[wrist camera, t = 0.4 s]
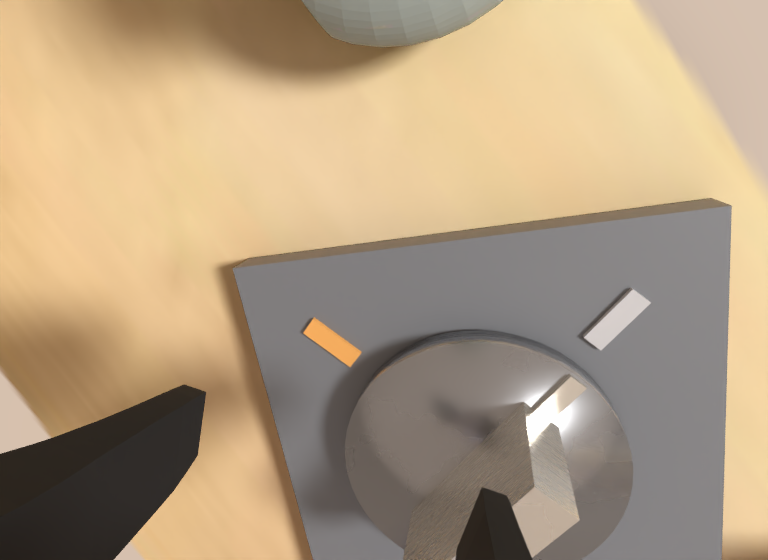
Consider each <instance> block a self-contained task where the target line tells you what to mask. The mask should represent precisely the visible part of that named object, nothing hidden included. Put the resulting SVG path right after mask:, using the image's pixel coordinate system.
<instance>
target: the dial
mask: <svg viewBox="0 0 768 560" xmlns="http://www.w3.org/2000/svg"><path fill="white" fill-rule="evenodd" d="M345 462H346V468H347V474H348V477H349V480H350V483H351V487H352V489H353V491H354V493H355V495H356V498H357V500H358V502H359V503H360V505H361V506H362V508H363V510H364V511H365V513H366V514H367V515H368V517H369V518H370V519H371V520H372V522H373V523H374V524H375V525H376V526H377V527H378V528H379V529H380V530H381V531H382V532H383V533H384V534H385V535H386V536H387V537H388V538H389V539H390V540H392V541H393V542H394V543H395V544H397V545H398V546H399V547H400V548H402V549H403V550H405V551H404V556H403V560H455V558H456V551H457V547H458V544H459V542H460V539H461V537H462V535H463V532H464V530H465V527H466V525H467V522H468V520H469V517H470V515H471V512H472V510H473V507H474V505H475V503H476V500H477V498H478V495H479V493H480V490H481V488H482V487H484V488H486V489H489V490H492V491H495V492H498V493H501V494H504V495H507V497H508V499H509V501H510V503H511V506H512V508H513V511H514V514H515V516H516V519H517V522H518V524H519V527H520V529H521V532H522V534H523V537H524V539H525V542H526V544H527V547H528V549H529V552H530V554H531V556H532V559H533V560H581V559H582V558H584V557H585V556H587V555H589V554H590V553H592V552H593V551H594V550H595V549H596V548H598V547H599V546H600V545H601V544H602V543H603V542H604V541H605V540H606V539H607V538H608V537H609V536H610V534H611V533H612V532H613V531H614V530H615V528H616V527H617V525H618V523H619V522H620V520H621V519H622V517H623V515H624V513H625V510H626V508H627V505H628V503H629V500H630V495H631V491H632V486H633V463H632V454H631V450H630V447H629V443H628V440H627V437H626V434H625V432H624V430H623V427H622V425H621V423H620V420H619V418H618V416H617V414H616V412H615V410H614V408H613V405H612V403H611V401H610V400H609V398H608V397H607V396H606V394H605V393H604V391H603V390H602V388H601V387H600V386H599V385H598V383H597V382H596V381H595V380H594V379H593V378H592V377H591V376H590V375H589V374H588V373H587V372H586V371H585V370H584V369H582V368H581V367H580V366H579V365H578V364H577V363H575V362H574V361H573V360H571V359H570V358H568V357H566V356H565V355H563V354H562V353H560V352H559V351H557V350H555V349H553V348H551V347H549V346H546V345H544V344H542V343H540V342H537V341H534V340H531V339H528V338H526V337H523V336H519V335H514V334H509V333H505V332H497V331H487V330H467V331H457V332H450V333H444V334H440V335H437V336H433V337H429V338H426V339H424V340H422V341H419V342H417V343H414V344H412V345H410V346H408V347H407V348H405V349H403V350H401V351H400V352H398V353H397V354H395V355H394V356H393V357H391V358H390V359H389V360H388V361H386V362H385V363H384V364H383V365H382V366H381V367H380V368H379V369H378V370H377V371H376V372H375V373H374V374H373V376H372V377H371V379H370V380H369V382H368V383H367V384H366V386H365V388H364V390H363V392H362V394H361V396H360V398H359V400H358V402H357V404H356V407H355V409H354V411H353V413H352V415H351V418H350V422H349V425H348V428H347V433H346V440H345Z"/></svg>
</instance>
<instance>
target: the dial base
mask: <svg viewBox="0 0 768 560" xmlns="http://www.w3.org/2000/svg"><path fill="white" fill-rule="evenodd" d="M731 207H732V206H731V205H728V204H726V203H723V202H720V201H718V200H715V199H712V198H710V199H702V200H694V201H686V202H679V203H671V204H663V205H656V206H648V207H640V208H633V209H625V210H617V211H609V212H602V213H594V214H586V215H579V216H571V217H563V218H555V219H548V220H540V221H532V222H525V223H517V224H509V225H502V226H494V227H486V228H478V229H471V230H463V231H455V232H448V233H440V234H432V235H425V236H417V237H409V238H401V239H394V240H386V241H378V242H371V243H363V244H355V245H348V246H340V247H332V248H324V249H317V250H309V251H301V252H294V253H286V254H278V255H271V256H263V257H255V258H249V259H247V260H245V261H244V262H242V263H241V264H239V265H237V266H236V267H234V268H233V272H234V275H235V279H236V283H237V286H238V290H239V293H240V297H241V301H242V304H243V308H244V312H245V315H246V319H247V322H248V326H249V330H250V333H251V337H252V341H253V344H254V348H255V351H256V355H257V359H258V362H259V366H260V369H261V373H262V377H263V380H264V384H265V388H266V391H267V395H268V398H269V402H270V406H271V409H272V413H273V417H274V420H275V424H276V427H277V431H278V435H279V438H280V442H281V445H282V449H283V453H284V456H285V460H286V464H287V467H288V471H289V474H290V478H291V482H292V485H293V489H294V493H295V496H296V500H297V503H298V507H299V511H300V514H301V518H302V521H303V525H304V529H305V532H306V536H307V540H308V543H309V547H310V550H311V554H312V558H313V560H403V556H404V551H405V550H403V549H402V548H400V547H399V546H398V545H397V544H395V543H394V542H393V541H392V540H390V539H389V538H388V537H387V536H386V535H385V534H384V533H383V532H382V531H381V530H380V529H379V528H378V527H377V526H376V525H375V524H374V523H373V522H372V520H371V519H370V518H369V517H368V515H367V514H366V513H365V511H364V510H363V508H362V506H361V505H360V503H359V502H358V500H357V498H356V495H355V493H354V491H353V489H352V487H351V483H350V480H349V477H348V474H347V468H346V462H345V440H346V433H347V428H348V425H349V422H350V418H351V415H352V413H353V411H354V409H355V407H356V404H357V402H358V400H359V398H360V396H361V394H362V392H363V390H364V388H365V386H366V384H367V383H368V382H369V380H370V379H371V377H372V376H373V374H374V373H375V372H376V371H377V370H378V369H379V368H380V367H381V366H382V365H383V364H384V363H385V362H386V361H388V360H389V359H390V358H391V357H393V356H394V355H395V354H397V353H398V352H400V351H401V350H403V349H405V348H407V347H408V346H410V345H412V344H414V343H417V342H419V341H422V340H424V339H426V338H429V337H433V336H437V335H440V334H444V333H450V332H457V331H467V330H487V331H497V332H505V333H509V334H514V335H519V336H523V337H526V338H528V339H531V340H534V341H537V342H540V343H542V344H544V345H546V346H549V347H551V348H553V349H555V350H557V351H559V352H560V353H562V354H563V355H565V356H566V357H568V358H570V359H571V360H573V361H574V362H575V363H577V364H578V365H579V366H580V367H581V368H582V369H584V370H585V371H586V372H587V373H588V374H589V375H590V376H591V377H592V378H593V379H594V380H595V381H596V382H597V383H598V385H599V386H600V387H601V388H602V390H603V391H604V393H605V394H606V396H607V397H608V398H609V400H610V401H611V403H612V405H613V408H614V410H615V412H616V414H617V416H618V418H619V420H620V423H621V425H622V427H623V430H624V432H625V434H626V437H627V440H628V443H629V447H630V450H631V454H632V463H633V486H632V491H631V495H630V500H629V503H628V505H627V508H626V510H625V513H624V515H623V517H622V519H621V520H620V522H619V523H618V525H617V527H616V528H615V530H614V531H613V532H612V533H611V534H610V536H609V537H608V538H607V539H606V540H605V541H604V542H603V543H602V544H601V545H600V546H599V547H598V548H596V549H595V550H594V551H593V552H592V553H590V554H589V555H587V556H585V557H584V558H582V559H581V560H722V528H723V492H724V456H725V421H726V385H727V350H728V314H729V278H730V243H731Z"/></svg>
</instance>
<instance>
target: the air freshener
mask: <svg viewBox="0 0 768 560" xmlns="http://www.w3.org/2000/svg"><path fill="white" fill-rule="evenodd" d="M502 1H503V0H302V2H303V3H304V5H305V6H306V7H307V9H308V10H309V11H310V13H311V14H312V15H313V17H314V18H315V19H316V21H317V22H318V23H319V24H320V26H321V27H322V28H323V29H324V30H325V31H326V32H327V33H328V34H329V35H330V36H331V37H333V38H335V39H338V40H341V41H344V42H348V43H351V44H355V45H365V46H374V47H393V46H406V45H414V44H418V43H422V42H426V41H429V40H433V39H437V38H441V37H443V36H445V35H447V34H450V33H452V32H454V31H456V30H458V29H460V28H463V27H465V26H467V25H469V24H471V23H472V22H474V21H475V20H477V19H478V18H480V17H481V16H483V15H484V14H486V13H487V12H489V11H490V10H492V9H493V8H494V7H496V6H497V5H498V4H500V3H501V2H502Z"/></svg>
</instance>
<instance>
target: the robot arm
mask: <svg viewBox="0 0 768 560" xmlns="http://www.w3.org/2000/svg"><path fill="white" fill-rule="evenodd" d="M205 396H206V392H204V391H201V390H198V389H196V388H193V387H190V386H187V385H182V386H180V387H177V388H175V389H172V390H170V391H168V392H165V393H163V394H161V395H158V396H156V397H154V398H151V399H149V400H147V401H145V402H142V403H140V404H138V405H135V406H133V407H131V408H128V409H126V410H123V411H121V412H119V413H116V414H114V415H112V416H109V417H107V418H104V419H102V420H99V421H97V422H94V423H91V424H89V425H86V426H83V427H81V428H78V429H75V430H73V431H70V432H67V433H65V434H62V435H59V436H56V437H54V438H51V439H48V440H45V441H42V442H38V443H36V444H33V445H29V446H26V447H22V448H19V449H16V450H12V451H9V452H6V453H2V454H0V560H114V559H115V558H116V556H117V555H118V554H119V553H120V552H121V551H122V550H123V548H124V547H125V546H126V545H127V544H128V543H129V542H130V540H131V539H132V538H133V537H134V536H135V535H136V534H137V532H138V531H139V530H140V529H141V528H142V527H143V526H144V524H145V523H146V522H147V521H148V520H149V519H150V518H151V516H152V515H153V514H154V513H155V512H156V511H157V509H158V508H159V507H160V506H161V505H162V504H163V503H164V501H165V500H166V499H167V498H168V497H169V495H170V494H171V493H172V492H173V491H174V489H175V488H176V487H177V485H178V484H179V482H180V481H181V479H182V478H183V477H184V475H185V474H186V472H187V471H188V469H189V468H190V466H191V465H192V463H193V461H194V460H195V458H196V457H197V455H198V448H199V441H200V433H201V426H202V418H203V411H204V403H205ZM455 560H533V559H532V556H531V554H530V552H529V549H528V547H527V544H526V542H525V539H524V537H523V534H522V532H521V529H520V527H519V524H518V522H517V519H516V516H515V514H514V511H513V508H512V506H511V503H510V501H509V499H508V497H507V495H504V494H501V493H498V492H495V491H492V490H489V489H486V488H484V487H482V488H481V490H480V493H479V495H478V498H477V500H476V503H475V505H474V507H473V510H472V512H471V515H470V517H469V520H468V522H467V525H466V527H465V530H464V532H463V535H462V537H461V539H460V542H459V544H458V547H457V551H456V558H455Z"/></svg>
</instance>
